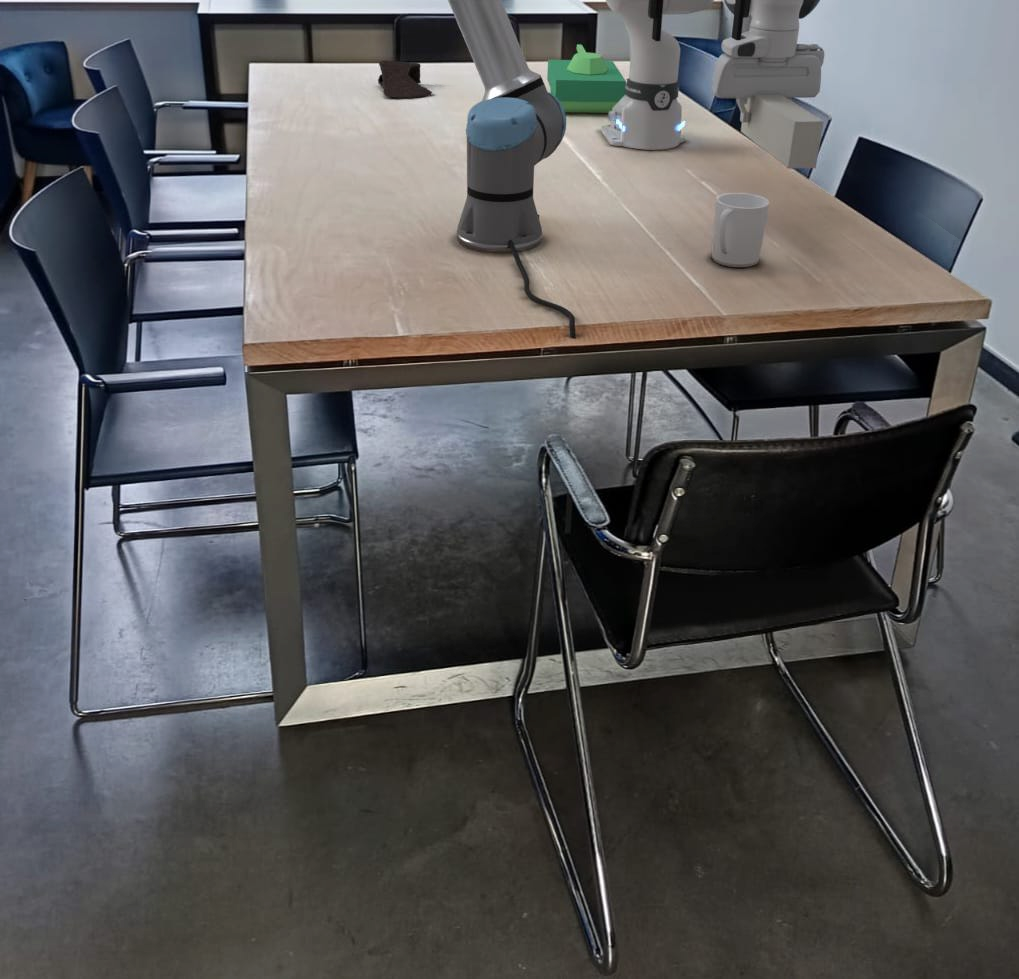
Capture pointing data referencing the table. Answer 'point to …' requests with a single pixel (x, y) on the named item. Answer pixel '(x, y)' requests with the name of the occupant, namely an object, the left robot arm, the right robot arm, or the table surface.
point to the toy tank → (586, 83)
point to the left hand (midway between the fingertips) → (696, 39)
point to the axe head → (401, 79)
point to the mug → (739, 229)
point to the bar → (784, 130)
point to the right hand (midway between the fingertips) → (761, 121)
